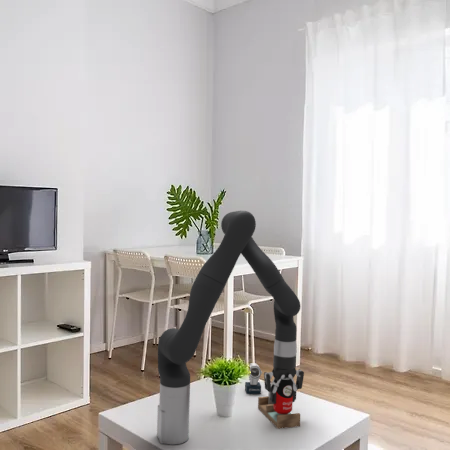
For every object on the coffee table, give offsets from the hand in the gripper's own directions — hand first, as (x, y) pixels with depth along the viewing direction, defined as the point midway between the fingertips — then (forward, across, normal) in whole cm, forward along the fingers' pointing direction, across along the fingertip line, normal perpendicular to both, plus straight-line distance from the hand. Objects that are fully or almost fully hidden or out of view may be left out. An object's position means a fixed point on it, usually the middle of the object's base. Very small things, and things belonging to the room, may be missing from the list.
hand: (282, 402), depth 172 cm
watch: (+7, 0, -27) cm, 28 cm away
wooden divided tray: (+7, 0, -4) cm, 7 cm away
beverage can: (+3, 0, 0) cm, 3 cm away
